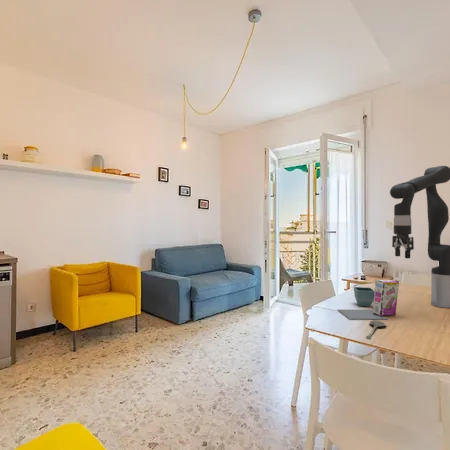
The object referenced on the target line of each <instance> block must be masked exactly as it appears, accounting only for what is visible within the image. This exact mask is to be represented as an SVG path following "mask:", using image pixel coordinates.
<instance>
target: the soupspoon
mask: <svg viewBox="0 0 450 450" xmlns="http://www.w3.org/2000/svg"><path fill="white" fill-rule="evenodd" d="M369 323H370V324H371V325H372V326H373V328H372V329H371V331H370V332H369V333H368V335H365V338H366V339H368V340H371V339H372V335H373V333H374V332H375V330H376V329H377V327H386V326H387V324H386V323H385V322H382V321H381V320H370V321H369Z"/></svg>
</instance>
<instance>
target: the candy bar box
mask: <svg viewBox="0 0 450 450" xmlns="http://www.w3.org/2000/svg"><path fill="white" fill-rule="evenodd" d="M374 283H375V285H374V291H375V292H374V300H373V303H372V310H373V311H372V313H373V314H376V315H379V316H384V317H386V316H395V315H396V314H397V304H398V296H399V286H400V282H399V281H396V280H392V279H375V281H374Z"/></svg>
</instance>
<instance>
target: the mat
mask: <svg viewBox="0 0 450 450" xmlns="http://www.w3.org/2000/svg"><path fill="white" fill-rule="evenodd" d="M337 311H338V313H340V314H341V315H343V316H344V317H345V318H346V319H347V320H349V321H389V318H388V317H386V316H379V315H376V314H373V313H372V311H373V309H337Z"/></svg>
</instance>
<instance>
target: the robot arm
mask: <svg viewBox="0 0 450 450" xmlns="http://www.w3.org/2000/svg"><path fill="white" fill-rule="evenodd" d="M449 181H450V167H449V166H447V165H439V166H438V165H437V166H434V167H428V168H426V169H425V171H424V173H423V175H420V176H417V177H415V178H412V179H409V180H408V181H404V182H401V183H397V184H394V185H393V186H391V188H390V190H389V194H390V197H391V198H393V199H395V200H399V199H400V200H401V199H402V200H401V202H400V203H396V204H394V206H393V207H394V208H393V234H394V235H392V241H391V242H392V243H391V245H392V246H391V247H392V248H394V251H395V252H394V256H395V257H401V247H403V249H404V258H405V259H411V252H412V251H414V249H415V246H414V237H413V236H410V235H411V234H412V215H411V213H412V211H411V210H412V209H411V208H412V205H413V200H414V197H415V194H417V193H419V192H421V191H423V190H425V195H426V205H427V208H426V209H427V223H428V225H427V226H428V239H427V241H428V242H427V255H428V258H429V259H430V260H431V261H437V262H439V265H438V266H435V267H432V268H431V278H430V279H431V281H430V282H431V283H430V284H431V285H430V286H431V287H430V290H431V291H430V293H431V294H430V304H431V305H432V306H434V307H436V308H437V307H438V308H445V309H446V308H447V309H450V244H442V243H441V235H442V233H443V231H444V229H445V228H446V227H447V225H448V222H449V220H450V219H449V215H450V214H449V213H450V212H449V207H448V205H447V203H446V202H445V201H444V200H443V197H441V196H440V194H439V193H438V189H437V185H439V184H446V183H448V182H449Z"/></svg>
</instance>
